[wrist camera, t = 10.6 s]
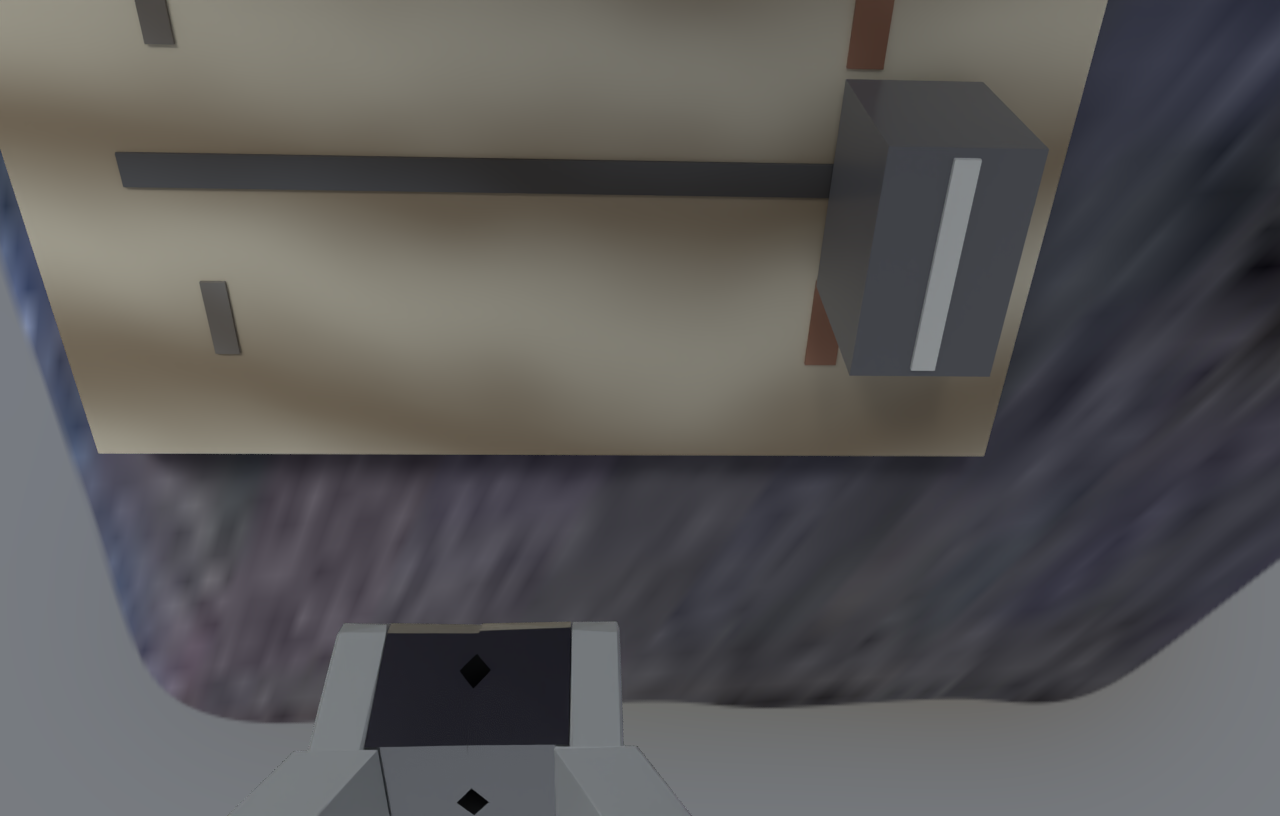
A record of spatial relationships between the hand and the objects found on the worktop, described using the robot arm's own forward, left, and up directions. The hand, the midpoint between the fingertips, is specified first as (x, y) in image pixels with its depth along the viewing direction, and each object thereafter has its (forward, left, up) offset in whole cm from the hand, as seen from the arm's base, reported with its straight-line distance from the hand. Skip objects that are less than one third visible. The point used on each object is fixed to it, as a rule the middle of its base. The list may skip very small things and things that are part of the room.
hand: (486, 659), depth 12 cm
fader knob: (0, +8, -14) cm, 16 cm away
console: (0, 0, -17) cm, 17 cm away
